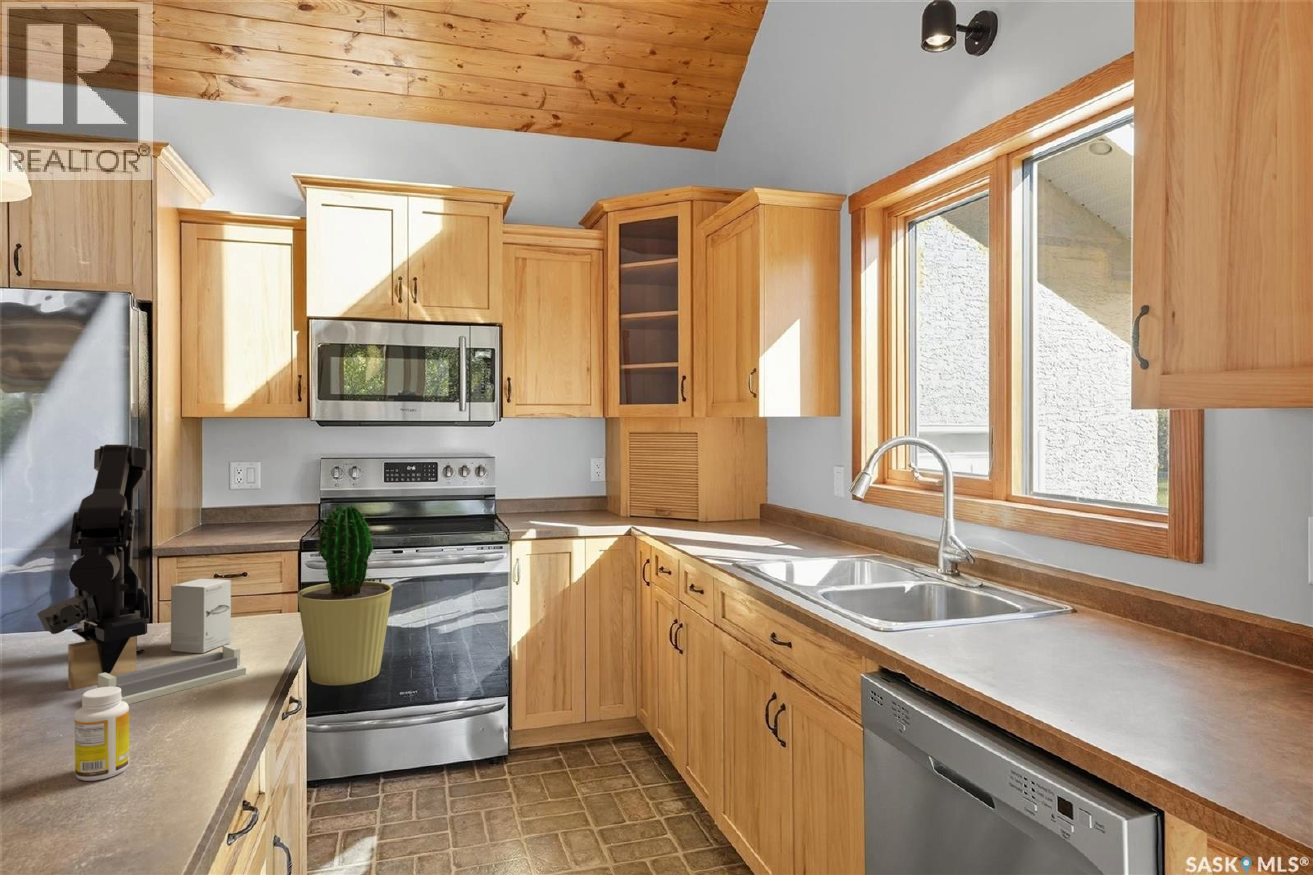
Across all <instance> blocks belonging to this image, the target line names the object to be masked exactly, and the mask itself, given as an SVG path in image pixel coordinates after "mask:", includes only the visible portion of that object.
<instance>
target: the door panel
mask: <svg viewBox="0 0 1313 875" xmlns="http://www.w3.org/2000/svg"><path fill="white" fill-rule="evenodd" d="M67 648H68V649H67V651H68V652H67V653H68V654H67V657H68V659H67V662H68V663H67V664H68V666H67V667H68V668H67V669H68V670H67V671H68V673H67V675H68V678H67V679H68V684H67V687H68V688H69V689H70V690H74V691H77V690H81V689H85V688H89V687H94V686H98V674H101V673H102V669H101V664H100V658H99V653H98V647H97V644H96V643H94V642H93V641H91V640H89V641H85V640H84V641H78V642H75V643H74V642H73V643H71V644H67ZM134 671H137V653H136V636H135V637H130V639H129V640H128V642H127V644H126V645H125V647H124V649H123V651H122V652H121V654H120V656H119V658H118V660H117V662H116V664H115V666H114V668H113V669H112V671H111V673H108V674H110V675H112V676H117V675H121V674H125V673H130V672H134Z"/></svg>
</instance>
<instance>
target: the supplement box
mask: <svg viewBox="0 0 1313 875" xmlns="http://www.w3.org/2000/svg"><path fill="white" fill-rule="evenodd" d="M170 589H171V591H170V592H171V593H170V594H171V595H170V596H171V597H170V651H171V652H179V653H180V652H182V653H189V654H191V653H192V654H205V653H207V652H209V651H211V650H214V649H218V648H220V647H223V646H224V645H230V643H231V639H232V638H231V637H232V636H231V632H232V629H231V628H232V627H231V625H232V624H231V623H232V622H231V620H232V579H222V578H220V579H218V578H217V579H216V578H197V579H194V580H190V581H185V582H181V583H176V584H173V585H171V588H170Z"/></svg>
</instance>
